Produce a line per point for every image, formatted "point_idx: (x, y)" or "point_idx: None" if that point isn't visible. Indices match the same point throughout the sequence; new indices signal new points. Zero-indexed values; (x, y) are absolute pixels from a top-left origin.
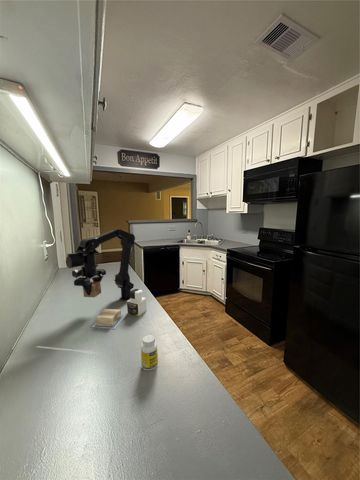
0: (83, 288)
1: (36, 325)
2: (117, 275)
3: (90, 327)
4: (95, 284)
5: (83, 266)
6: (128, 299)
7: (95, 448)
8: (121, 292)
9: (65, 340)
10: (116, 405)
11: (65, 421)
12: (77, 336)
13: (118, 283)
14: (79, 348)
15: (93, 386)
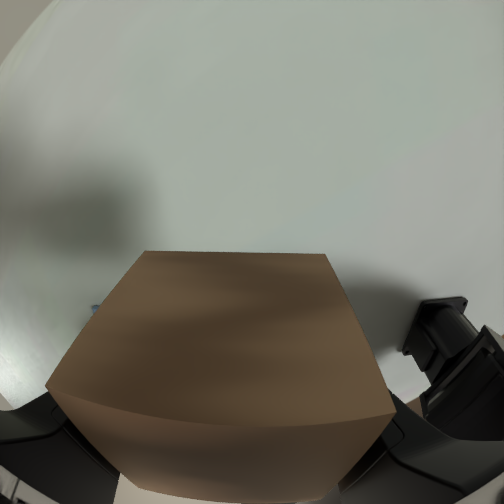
0: (81, 345)
1: (69, 7)
2: (499, 437)
3: (93, 309)
4: (196, 498)
5: None
6: (402, 352)
7: (2, 389)
8: (432, 352)
9: (19, 252)
10: (26, 402)
11: None
12: (45, 282)
13: (461, 397)
14: (27, 320)
15: (16, 377)
